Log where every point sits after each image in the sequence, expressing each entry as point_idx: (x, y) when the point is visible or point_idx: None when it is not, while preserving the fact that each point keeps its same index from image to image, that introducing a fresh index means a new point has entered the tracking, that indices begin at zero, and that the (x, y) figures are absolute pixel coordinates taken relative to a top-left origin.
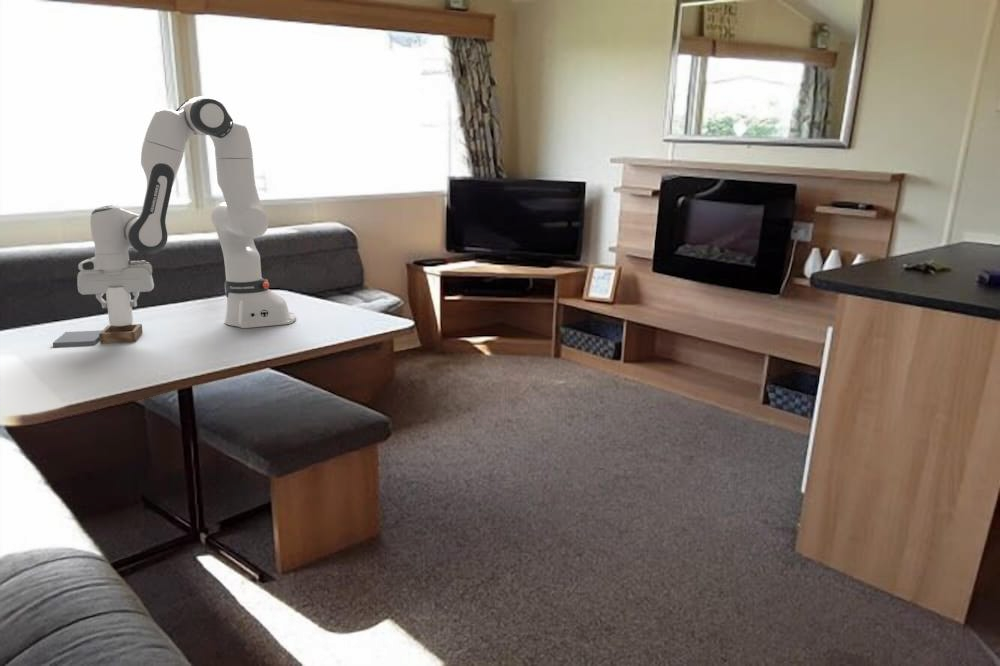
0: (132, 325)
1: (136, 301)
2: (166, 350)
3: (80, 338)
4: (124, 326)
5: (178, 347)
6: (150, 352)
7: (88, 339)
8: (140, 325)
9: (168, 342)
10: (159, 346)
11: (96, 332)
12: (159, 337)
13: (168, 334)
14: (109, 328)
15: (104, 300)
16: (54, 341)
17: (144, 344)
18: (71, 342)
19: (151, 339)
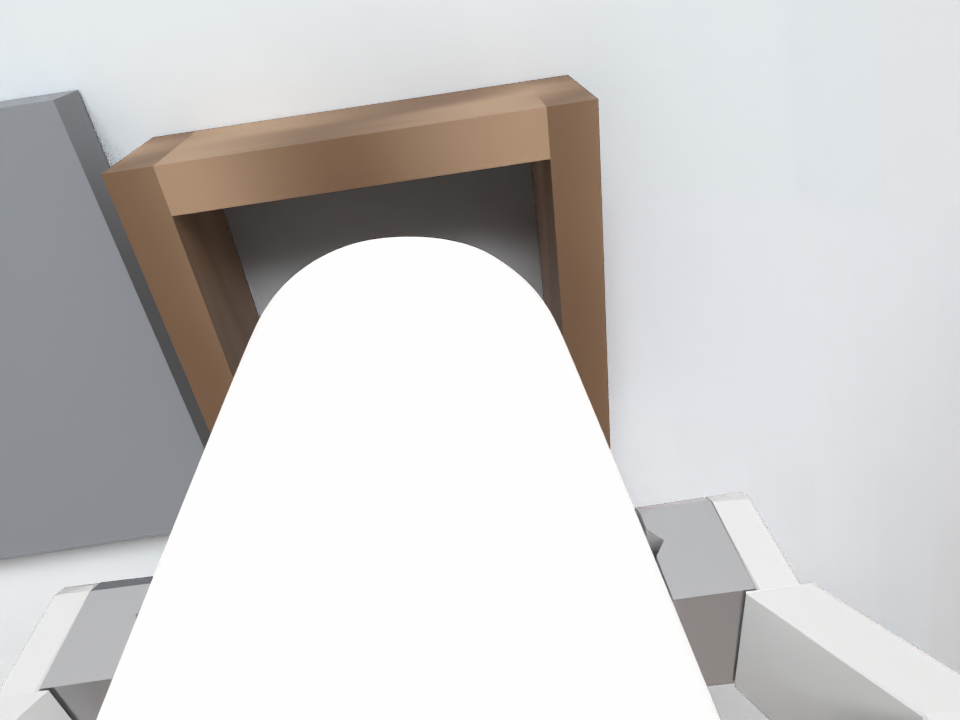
0: (479, 167)
1: (779, 549)
2: (865, 599)
3: (26, 457)
4: (367, 183)
5: (952, 543)
6: None
7: (144, 487)
8: (600, 183)
9: (881, 429)
10: (811, 524)
11: (15, 220)
12: (791, 269)
13: (884, 146)
14: (200, 269)
15: (29, 716)
16: None
17: (683, 480)
18: (35, 550)
19: (719, 338)
